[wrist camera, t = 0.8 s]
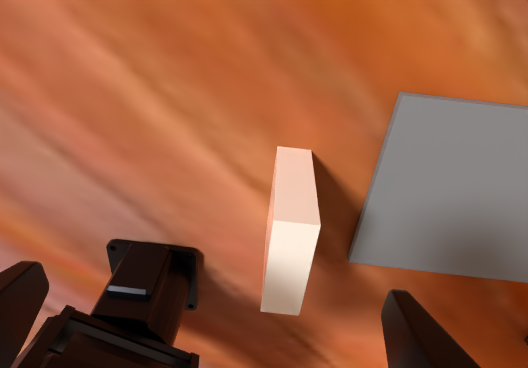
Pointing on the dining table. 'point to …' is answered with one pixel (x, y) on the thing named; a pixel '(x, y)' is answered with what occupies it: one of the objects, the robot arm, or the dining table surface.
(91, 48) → the dining table surface
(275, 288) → the tile
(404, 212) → the mat
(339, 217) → the dining table surface
